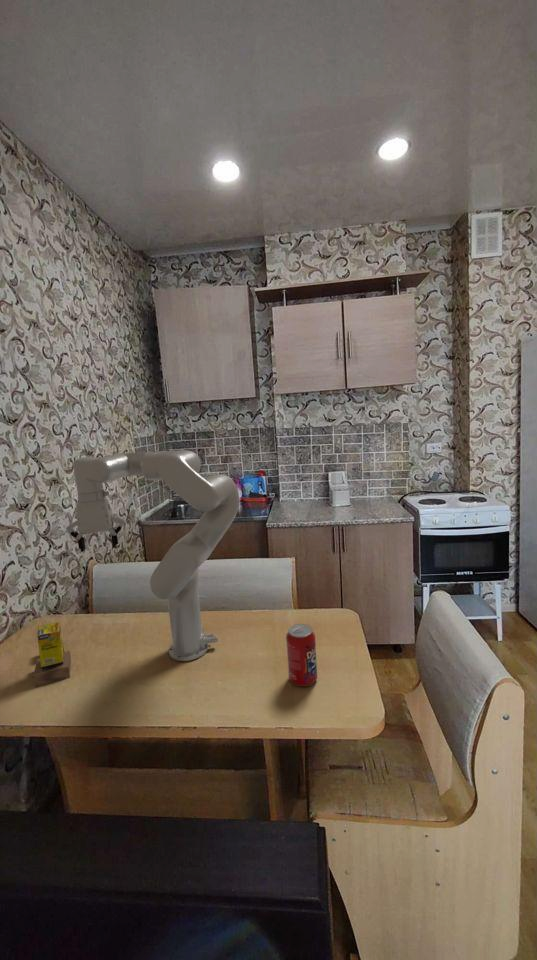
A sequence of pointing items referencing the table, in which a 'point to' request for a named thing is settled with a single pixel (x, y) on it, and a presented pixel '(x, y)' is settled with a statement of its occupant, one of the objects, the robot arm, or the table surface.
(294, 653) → the soda can
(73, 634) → the table surface
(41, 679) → the base block
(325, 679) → the table surface
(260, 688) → the table surface
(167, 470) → the robot arm
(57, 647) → the supplement box
